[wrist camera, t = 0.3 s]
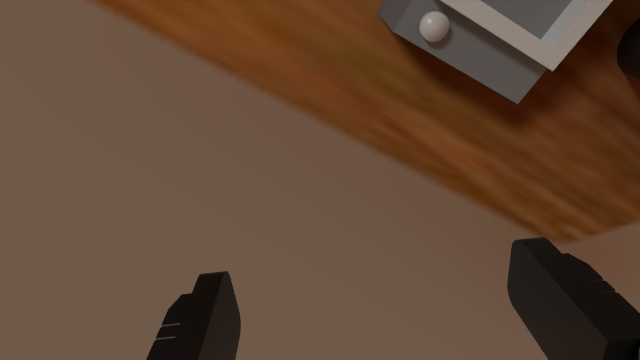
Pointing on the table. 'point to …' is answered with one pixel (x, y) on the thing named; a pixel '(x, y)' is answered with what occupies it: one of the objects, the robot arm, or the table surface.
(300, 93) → the table surface
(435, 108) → the table surface
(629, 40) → the lens
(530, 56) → the camera body
